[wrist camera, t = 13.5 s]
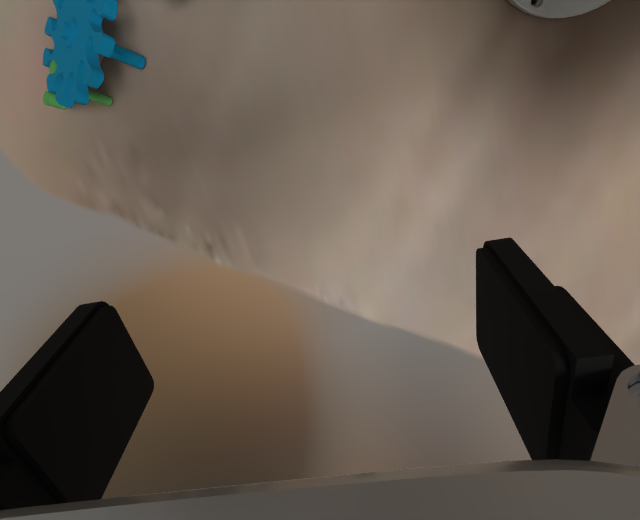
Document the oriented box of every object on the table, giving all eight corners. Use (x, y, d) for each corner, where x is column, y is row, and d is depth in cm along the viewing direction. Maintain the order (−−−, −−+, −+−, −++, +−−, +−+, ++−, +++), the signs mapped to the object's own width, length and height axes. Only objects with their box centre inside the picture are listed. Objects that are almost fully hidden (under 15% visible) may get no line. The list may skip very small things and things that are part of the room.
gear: (70, -80, 28) (110, 11, 24) (151, -29, 32) (194, 52, 29) (20, 53, 33) (47, 142, 30) (96, 79, 38) (127, 159, 34)
